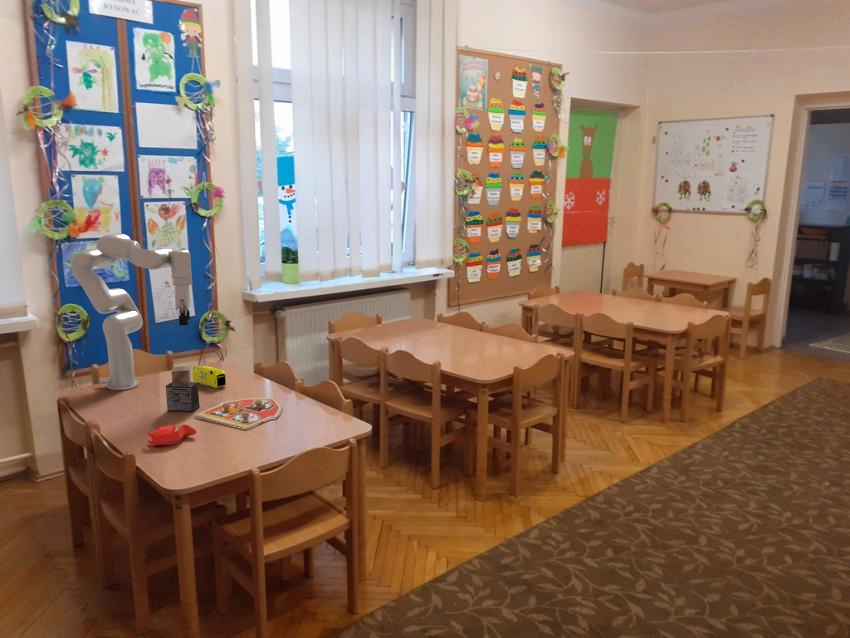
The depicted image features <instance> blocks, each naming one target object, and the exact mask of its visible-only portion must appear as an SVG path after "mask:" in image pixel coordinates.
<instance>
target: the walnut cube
mask: <svg viewBox="0 0 850 638" xmlns="http://www.w3.org/2000/svg"><path fill="white" fill-rule="evenodd" d="M190 367H191V366H190V365H184V366H183V365H182V366H172V370H171V382H172V384H173V387H174V386H188V385H190V382H191V371H190V370H191V368H190Z"/></svg>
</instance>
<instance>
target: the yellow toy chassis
mask: <svg viewBox="0 0 850 638" xmlns="http://www.w3.org/2000/svg"><path fill="white" fill-rule="evenodd" d="M191 369H192V382H198V385H200V386H204V387H208V386H209V387H212V388H213V389H219V388H223V387H225V386H227V374H226V372H225V371H224V370H222V369H219V368H216V367H210V366H207V365H203V366H200V365H196V364H194V366H193V367H192V368H191Z"/></svg>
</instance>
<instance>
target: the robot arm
mask: <svg viewBox="0 0 850 638" xmlns="http://www.w3.org/2000/svg"><path fill="white" fill-rule="evenodd" d="M119 260H124V261H128V262H130V263H131V264H133V265H134V266H136V267H138V268H143V269H146V270H147V269H148V270H159V269H164V268H165V269H166V268H170V270H171V285H172V286H173V287H174V297H175V298H174V299H175V300H174V301H175V310H176V311H178V320H179V321H178V323H179V326H188V325H189V321H190V319H191V317H190V315H191V314H190V303H191V300H190V299H191V297H190V296H191V293H190V286H191V285H193V276H192V261H191V252H190V251H189V250H187V249H174V248H165V247H164V248H159V249H154V250H153V249H152V250H150V249H145V248H142V247H141V244H140V243H139V242H138V241H136V240H134V239H133V240H132V239H131V238H130V237H129V236H128V235H126V234H124V233H112V234H105V235H103V236H101V237H99V239H98V240H97V242H96V248H93V249H92V248H90V249H85V250H84V249H83V250H81V251H78V252H76V254H74V255H73V257H72V258H71V261H70V269H71V272H72V273H71V274H73V277H74V278H75V280H77V282H78V283H79V285H80V286H81V287H82V290H84V293H85V294H86V297H88V299H89V301H90V303H91V305H92V307H93V308H94V309H95V310H96V312H98V313H99V314H101V315H102V314H103V315H104V314H111V313H113V314H111V315H108V316H107V317H105V319H103V323H102V331H103V333H104V337H105V341H106V347H107V349H106V350H107V356H108V357H107V358H108V366H109V367H108V368H109V376H107V377H99V378H98V379H99V380H98V381H99V383H100V384H106V388H107V389H108V390H110V389H111V391H125V390H132V389H134V388H137V387H138V386H139V385H140V381H139V380H137V379H136V376H135V375H136V374H135V365H134V364H135V363H134V354H133V353H134V352H133V344H132V341H131V340H130V339H131V338H130V337H129V336H128V335H129V334H131V333H134V332H136V331H139V330H140V329H141V328H142V327H143V324H144V321H143V317H142V314H141V313H140V310H139V309H138V307H137V306H136V304H135V302H134V300H133V299H132V297H131V295H130V294H129V292H127V291H126V290H125V289H123V288H119V287H118V288H111V289H110V288H109V287H108V285H107V283H106V282H105V280H104V279H103V277H101V276H100V275H99V274H97V273H96V272H95V271H94V270H100V269H104V268H109V267H111V266H114V265H115V264H116V263H117V262H119ZM115 312H116V313H115Z"/></svg>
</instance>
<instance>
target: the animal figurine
mask: <svg viewBox="0 0 850 638" xmlns="http://www.w3.org/2000/svg"><path fill="white" fill-rule="evenodd" d="M176 427H177V425H176V424H172V425H165V426H159V427H157V428H155V430H154V431H151V432H150V431H148V432H147V435H148V436H149V437H150V438H151V439H147V443H149V445H150V446H151V447H156V446H170V445H171V446H172V445H177V444H179V443H180V442H179V441H181V440H182V439H184V438H186V437H185V436H188V437H191V436H193V435H196V434H197V433H198V431H197V429H195V428H194V427H192V426H190V425H188V424H182V425H180V426H179V427H178V428H177V430H176ZM183 437H184V438H183ZM178 442H179V443H178ZM176 443H177V444H176Z"/></svg>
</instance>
